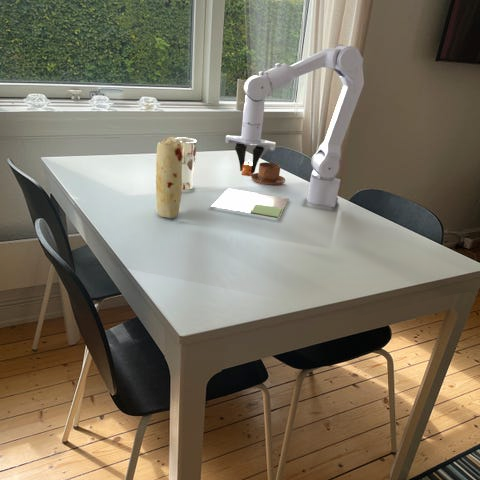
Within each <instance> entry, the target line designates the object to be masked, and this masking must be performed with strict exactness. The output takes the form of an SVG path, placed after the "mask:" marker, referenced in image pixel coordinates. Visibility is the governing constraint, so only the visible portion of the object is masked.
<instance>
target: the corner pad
mask: <svg viewBox="0 0 480 480" xmlns="http://www.w3.org/2000/svg"><path fill="white" fill-rule="evenodd" d="M281 210H282V208H277V207H271V206H265V205H259V204H255V206H254V207H253V209H252V210H251V212H250V213H249V214H251V213H255V214H254V215H257V214H261V215H260V216H262V215H267V216H266V217H268V216H273V217H272V218H274V217H278V216H279V214H280V212H281Z"/></svg>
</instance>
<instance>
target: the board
mask: <svg viewBox="0 0 480 480" xmlns="http://www.w3.org/2000/svg"><path fill="white" fill-rule="evenodd" d="M289 200H290V198H288V197H282V196H276V195H269V194H263V193H258V192H252V191H246V190H240V189H234V188H227V189H226V190H225V191H224V192H223V193H222V194H221V195H220V196H219V197H218V198H217V199H216V201H214V203H212V205H210V207H211V208H218V209H223V210H229V211H235V212H240V213H246V214H251V215H258V216H263V217H269V218H275V219H280V218H281V216H282V214H283V212H284V210H285V208H286V206H287V204H288V202H289ZM255 204H259V205H265V206H271V207H277V208H282V210H281V212H280V214H279V216H278V217H273V216H267V215H261V214H255V213H250V212H251V210H252V209H253V207H254V206H255Z"/></svg>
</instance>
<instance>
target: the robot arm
mask: <svg viewBox="0 0 480 480" xmlns="http://www.w3.org/2000/svg"><path fill="white" fill-rule="evenodd" d="M362 56H363V55H362V54H361V51H359V49H358V48H357V47H356V46H353V45H345V44H341V43H340V44H336V45H333V47H332V46H331V47H327V48H324V49H323V50H320V51H318V52H316V53H314V54H312V55H309V56H308V57H305V58H304V59H302V60H299V61H297V62H295V63H293V64H291V65H289V64H287V63H282V64H281V62H277V63H275V64H274V65H275V67H273V68H270V69H267V70H265V71H264V70H261V71H259V72H258V74H259V75H251V76H249V77H248V78H247V80H246V81H245V82H244V85H243V91H244V93H245V97H244V104H243V113H242V121H241V122H242V124H241V133H240V135H229V134H227V135H226V136H225V142H224V143H225V144H233V145H235V146H234V150H235V153H236V155H237V158H238V162H239V171H240V172H242V165H243V164H244V163H245V162H246V152H247V147H252V148H253V149H252V162H251V163H252V169H251V173H253V174H255V172H256V168H257V166H258V163H259V160H260V158H261V156H262V154H263V152H264V151H265V150H270V151H275V150H276V145H277V144H276V141H270V140H266V139H262V132H263V131H262V130H263V122H264V113H265V100H266V98H267V97H268V95H271V94H274V93H275V92H278V91H280V90H283V89H285V88H288V87H290V86H291V85H292V84H293V82H294V80H295V78H298V77H301V76H303V75H306V74H308V73H311V72H314V71H315V70H318V69H321V68H326V69H332V70H333V71H334V72H335V73H336V75H338V77H339V79H340V81H341V84H342V85H343V86H342V89H341V92H340V94H339V98H338V100H337V102H336V106H335V108H334V112H333V114H332V118H331V120H330V123H329V126H328V129H327V132H326V134H325V137H324V140H323V141H322V143H321V144H319V146H318V149H317V150H316V152H315V153H314V154H313V156H312V157H311V167H312V168H313V170H312V172H311V173H310V174H311V175H310V180H309V186H308V192H307V196H306V201H307V203H310V204H312V205H315V206H321V207H322V206H323V207H330V208H336V205H337V204H338V201H339V197H338V196H339V190H340V187H341V186H340V185H341V182H342V180H341V179H340V178H336V176H337V175H338V173H339V172H340V161H341V158H342V152H341V151H342V150H341V149H342V144H343V142H344V139H345V137H346V134H347V131H348V129H349V125H350V123H351V120H352V117H353V114H354V112H355V110H356V107H357V105H358V101H359V99H360V95H361V93H362V90H363V88H364V84H365V79H364V69H363V63H364V57H362Z"/></svg>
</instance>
